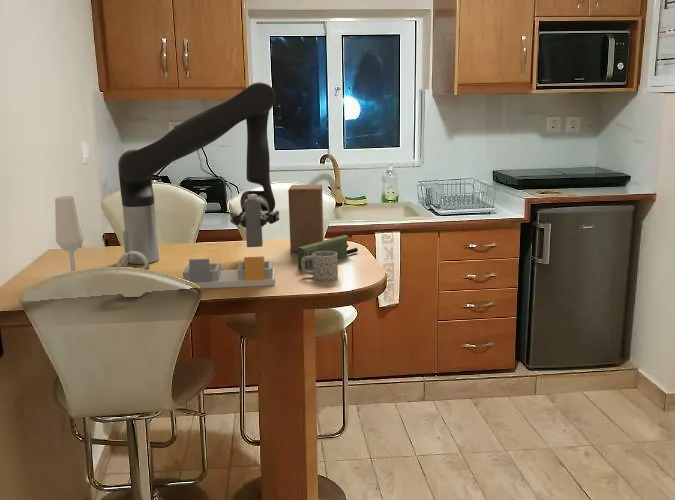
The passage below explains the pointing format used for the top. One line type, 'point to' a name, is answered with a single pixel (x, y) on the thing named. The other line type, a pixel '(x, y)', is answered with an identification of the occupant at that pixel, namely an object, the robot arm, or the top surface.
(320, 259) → the mug
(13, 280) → the top surface
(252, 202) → the plug
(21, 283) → the top surface
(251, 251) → the top surface
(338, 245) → the handheld radio
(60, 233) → the champagne flute
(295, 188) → the wooden block
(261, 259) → the charging dock
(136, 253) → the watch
